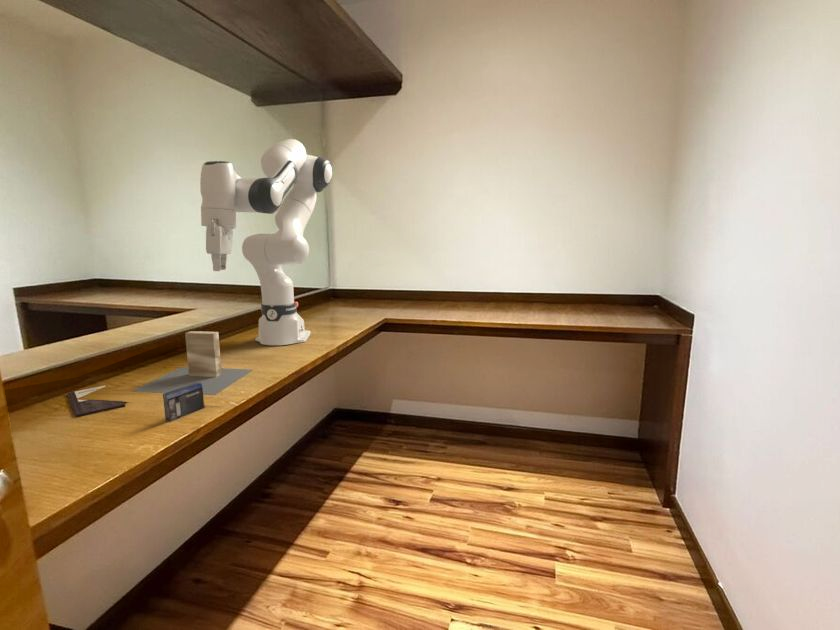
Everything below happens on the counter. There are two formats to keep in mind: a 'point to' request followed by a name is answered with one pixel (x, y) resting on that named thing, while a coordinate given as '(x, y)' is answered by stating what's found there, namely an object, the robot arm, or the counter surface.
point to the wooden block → (203, 353)
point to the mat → (193, 381)
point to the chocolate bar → (91, 403)
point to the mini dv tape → (183, 401)
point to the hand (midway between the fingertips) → (219, 270)
